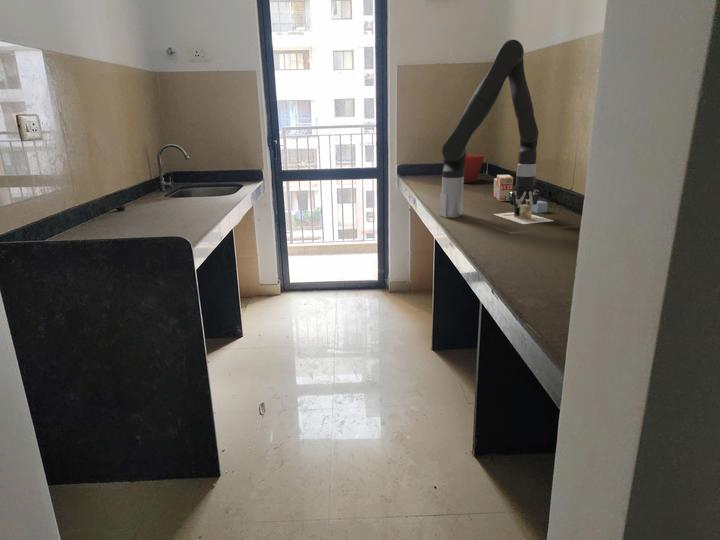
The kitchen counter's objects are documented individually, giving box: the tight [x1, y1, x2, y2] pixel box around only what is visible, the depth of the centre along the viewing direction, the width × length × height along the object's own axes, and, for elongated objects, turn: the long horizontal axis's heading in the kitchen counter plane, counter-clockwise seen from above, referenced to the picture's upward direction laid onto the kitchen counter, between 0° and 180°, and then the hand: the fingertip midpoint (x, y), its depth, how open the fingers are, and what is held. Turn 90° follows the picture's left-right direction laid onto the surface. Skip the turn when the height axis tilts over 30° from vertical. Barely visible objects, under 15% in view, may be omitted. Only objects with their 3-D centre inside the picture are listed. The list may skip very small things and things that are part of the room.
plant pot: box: [463, 153, 485, 184], centre depth 317 cm, size 19×19×17 cm
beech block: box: [514, 203, 533, 219], centre depth 205 cm, size 5×5×5 cm
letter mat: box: [492, 212, 554, 225], centre depth 206 cm, size 15×22×1 cm
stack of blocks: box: [493, 174, 514, 202], centre depth 255 cm, size 21×6×12 cm, turn 174°
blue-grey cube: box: [532, 200, 548, 214], centre depth 217 cm, size 5×5×5 cm
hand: (522, 215), depth 206 cm, fingers closed on beech block, 5 cm apart
